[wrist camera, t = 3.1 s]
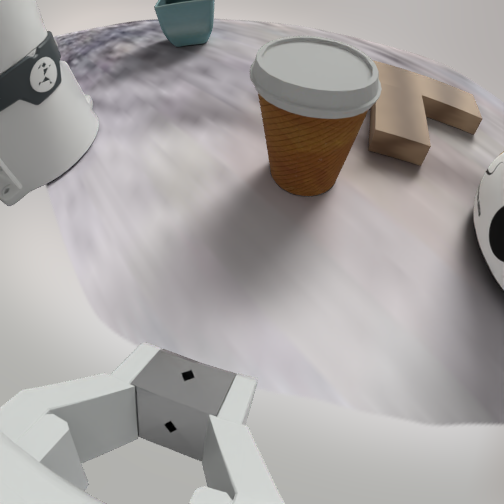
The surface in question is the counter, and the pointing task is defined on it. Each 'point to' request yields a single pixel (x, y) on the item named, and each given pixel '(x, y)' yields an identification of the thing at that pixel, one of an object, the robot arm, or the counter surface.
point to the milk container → (491, 218)
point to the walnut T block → (415, 113)
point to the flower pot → (186, 20)
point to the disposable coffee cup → (312, 107)
